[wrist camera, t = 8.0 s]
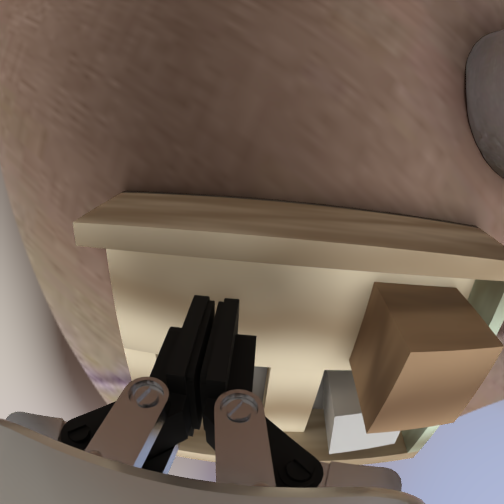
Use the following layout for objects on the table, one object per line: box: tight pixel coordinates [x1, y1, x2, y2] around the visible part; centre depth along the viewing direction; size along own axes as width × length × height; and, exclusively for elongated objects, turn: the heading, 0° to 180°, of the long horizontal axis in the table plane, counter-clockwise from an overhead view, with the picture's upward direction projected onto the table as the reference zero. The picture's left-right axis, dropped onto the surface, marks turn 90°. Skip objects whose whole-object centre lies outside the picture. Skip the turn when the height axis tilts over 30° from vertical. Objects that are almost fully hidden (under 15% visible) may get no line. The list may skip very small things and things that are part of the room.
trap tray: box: [73, 191, 504, 465], centre depth 16 cm, size 16×20×5 cm
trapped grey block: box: [323, 370, 400, 454], centre depth 17 cm, size 4×4×4 cm
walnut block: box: [349, 282, 504, 434], centre depth 13 cm, size 5×5×5 cm
